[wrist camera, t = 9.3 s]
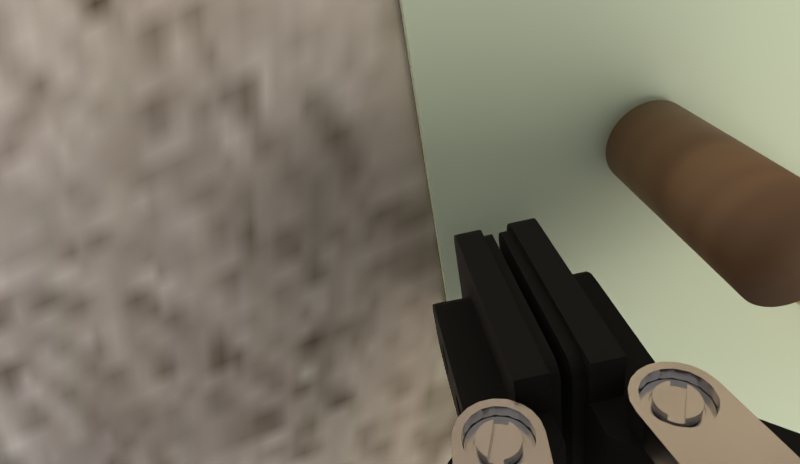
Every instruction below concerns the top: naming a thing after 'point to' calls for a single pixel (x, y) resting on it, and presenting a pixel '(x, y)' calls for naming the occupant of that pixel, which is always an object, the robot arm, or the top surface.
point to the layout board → (586, 154)
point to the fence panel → (714, 197)
